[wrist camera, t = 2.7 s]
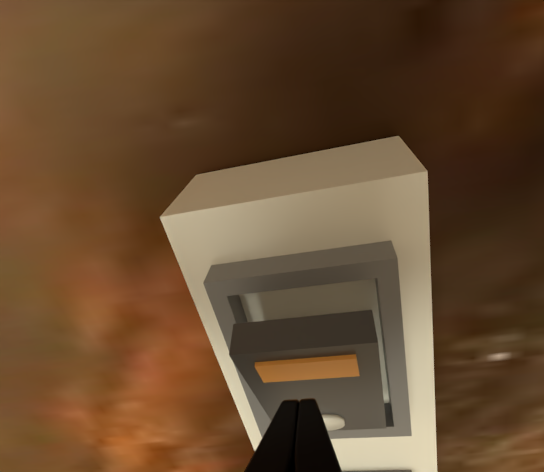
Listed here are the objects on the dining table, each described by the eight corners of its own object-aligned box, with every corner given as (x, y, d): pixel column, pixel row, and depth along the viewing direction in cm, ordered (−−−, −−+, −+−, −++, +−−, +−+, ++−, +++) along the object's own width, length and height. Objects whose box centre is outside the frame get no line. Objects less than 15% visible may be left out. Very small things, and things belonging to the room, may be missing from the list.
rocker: (381, 400, 14) (387, 432, 13) (279, 405, 15) (278, 436, 14) (371, 309, 10) (378, 347, 9) (233, 323, 11) (228, 359, 10)
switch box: (422, 493, 24) (445, 594, 20) (303, 494, 26) (300, 587, 21) (398, 135, 13) (438, 184, 9) (196, 174, 15) (146, 231, 11)
